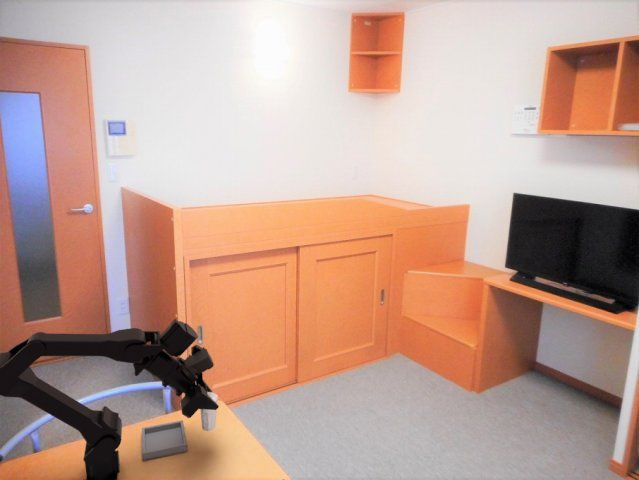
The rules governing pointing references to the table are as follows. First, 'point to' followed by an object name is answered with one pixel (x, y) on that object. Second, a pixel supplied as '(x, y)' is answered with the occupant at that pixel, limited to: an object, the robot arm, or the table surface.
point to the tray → (163, 440)
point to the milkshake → (209, 415)
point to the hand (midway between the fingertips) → (215, 402)
